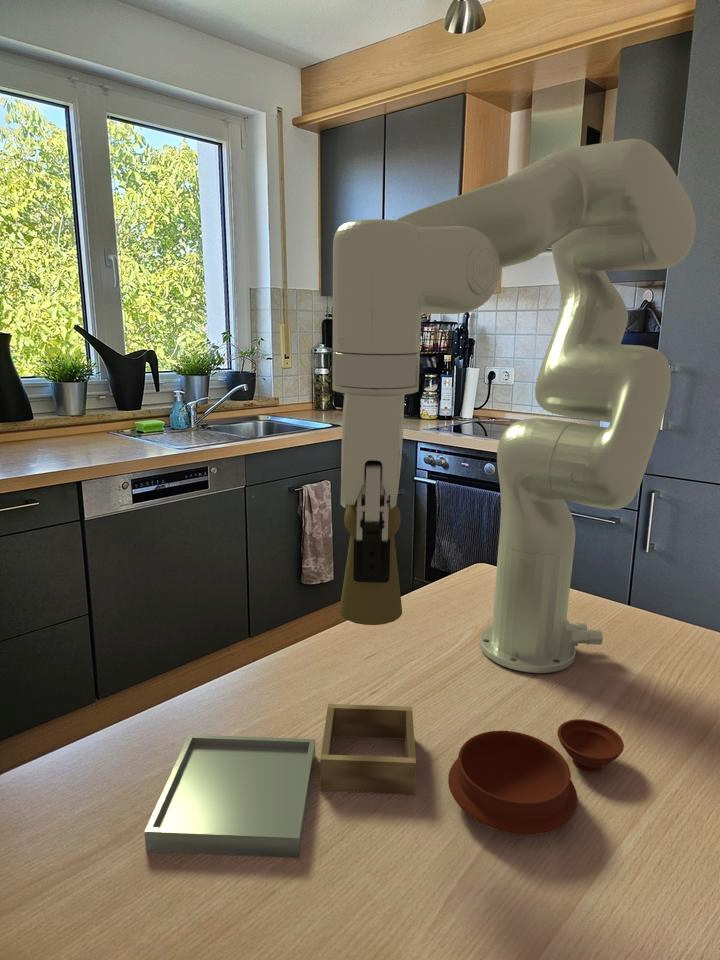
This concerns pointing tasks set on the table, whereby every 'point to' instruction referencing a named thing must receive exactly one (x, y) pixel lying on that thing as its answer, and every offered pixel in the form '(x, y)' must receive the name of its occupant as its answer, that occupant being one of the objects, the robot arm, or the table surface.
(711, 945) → the table surface
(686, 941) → the table surface
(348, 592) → the olive pawn
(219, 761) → the tray
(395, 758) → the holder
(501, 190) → the robot arm
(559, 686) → the table surface
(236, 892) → the table surface
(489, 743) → the pottery
